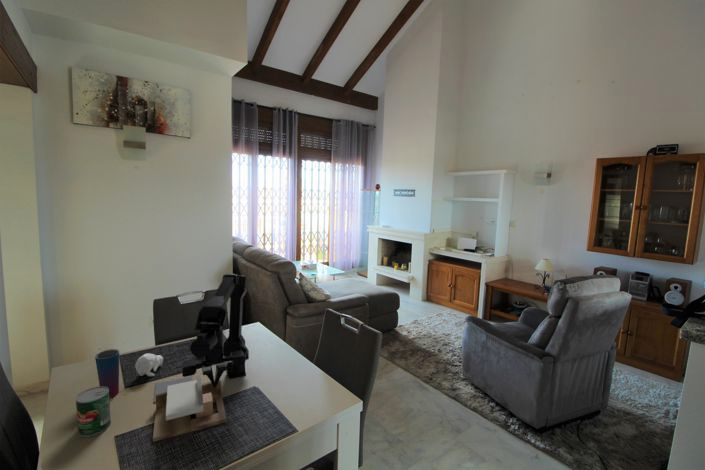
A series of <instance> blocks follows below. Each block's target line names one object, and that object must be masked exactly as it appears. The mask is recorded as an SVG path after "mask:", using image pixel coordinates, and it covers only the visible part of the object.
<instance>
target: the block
mask: <svg viewBox="0 0 705 470" xmlns="http://www.w3.org/2000/svg"><path fill="white" fill-rule="evenodd" d="M213 406H214V403H213V400H212V393H206V394H203V410H204V411H202V412H198V413H195V419H196V418H200V417H204V416H208V415H212V414H214V407H213Z"/></svg>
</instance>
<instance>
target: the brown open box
mask: <svg viewBox="0 0 705 470" xmlns="http://www.w3.org/2000/svg"><path fill="white" fill-rule="evenodd" d="M214 382H215V380H214ZM201 384H202V394H206V393H212V400H213V404H214V403H215V404H216V410H217V412H216V413H213V414H212V415H208V416H204V417H200V418H196V417H195V418H192V417H191V415H192V414H190V415H186V416H182V417H178V418H174V419H170V420H166V404H167V392H162V393H157V394H156V403H155V415H154V422H153V423H154V425H153V431H152V432H153V433H152V443H154V442H159V441H163V440H167V439H170V438H173V437H177V436H180V435H185V434H188V433H191V432H194V431H199V430H203V429H207V428H210V427H213V426H218V425H220V424H223V423H224V424H225V423H227V413H226V410H225V405H224V399H223V395H222V380H221V379H219V382H218V384H217V387H215V388H213V385H212V383H211V381H210V382H205V383H201Z"/></svg>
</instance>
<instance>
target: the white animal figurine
mask: <svg viewBox="0 0 705 470" xmlns="http://www.w3.org/2000/svg"><path fill="white" fill-rule="evenodd" d="M163 361H164V357H163V356H162V355H159V354H158V355H156V354H154V353H144V354H143V355H141V356H140V357H139V358H137V360H136V363H135V364H134V366H135V370H136V372H137V374H138V375H139V376H141V377H142V376H144V375H146V376H147V377H155V376H156V374H155V373H154V372H156V371H157V369H158V367H162V365H163V364H164V363H163ZM152 369H153V372H151V371H152Z"/></svg>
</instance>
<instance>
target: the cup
mask: <svg viewBox="0 0 705 470" xmlns="http://www.w3.org/2000/svg"><path fill="white" fill-rule="evenodd" d="M94 358H95V359H94V360H95V365H96V370H97V377H98V384H99V387H101V386H103V387H107V388H108V389H109V399H110V398H113V397H115V396H117V395H118V394H119V393H120V392H119V391H120V350H119V349H113V348H111V349H106V350H103V351H100V352H98V353H96V354H95V355H94Z"/></svg>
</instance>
